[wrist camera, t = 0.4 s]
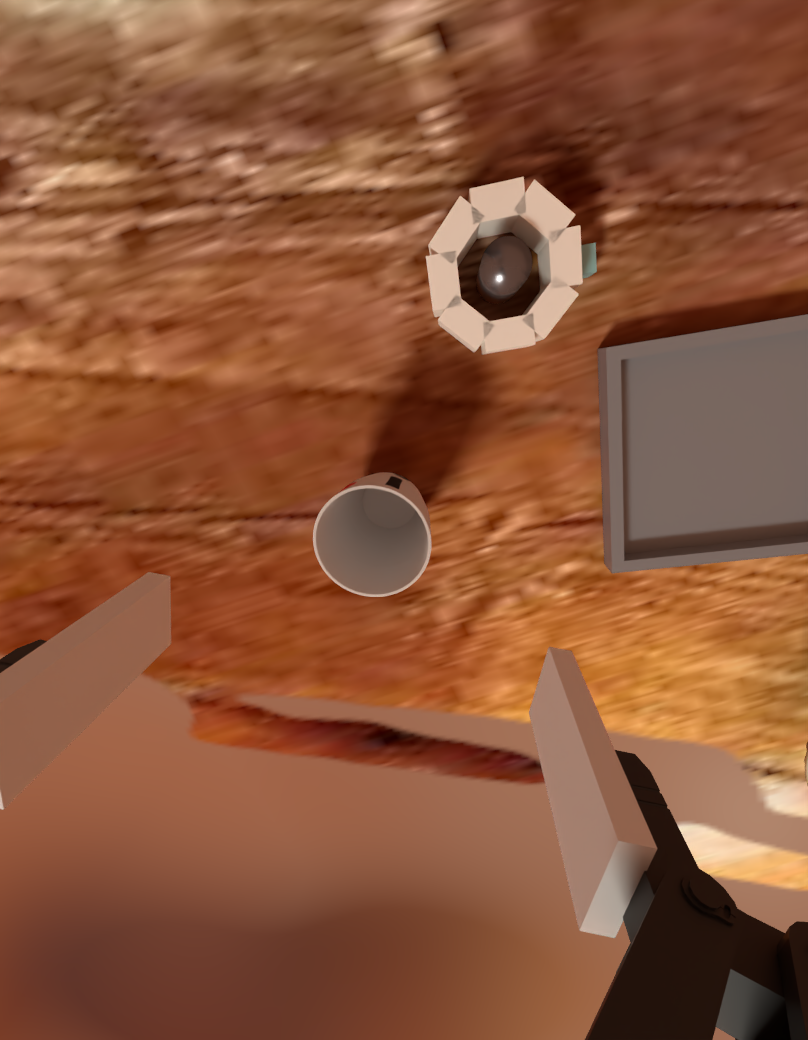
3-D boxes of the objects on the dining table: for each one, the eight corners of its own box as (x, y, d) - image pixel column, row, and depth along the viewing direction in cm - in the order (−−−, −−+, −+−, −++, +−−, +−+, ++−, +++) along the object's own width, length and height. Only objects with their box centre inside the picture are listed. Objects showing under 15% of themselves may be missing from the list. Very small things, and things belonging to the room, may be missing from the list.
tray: (597, 348, 35) (606, 347, 33) (860, 305, 33) (886, 301, 31) (604, 563, 40) (611, 573, 38) (831, 540, 38) (851, 549, 36)
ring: (422, 219, 34) (418, 199, 30) (585, 184, 32) (603, 159, 28) (440, 361, 36) (439, 360, 33) (590, 336, 35) (607, 332, 31)
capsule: (473, 261, 34) (478, 241, 29) (517, 252, 34) (530, 231, 28) (478, 307, 35) (483, 296, 30) (521, 299, 35) (533, 287, 29)
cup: (424, 448, 39) (416, 473, 29) (443, 536, 41) (442, 586, 32) (333, 468, 40) (298, 498, 31) (357, 552, 42) (331, 605, 33)
